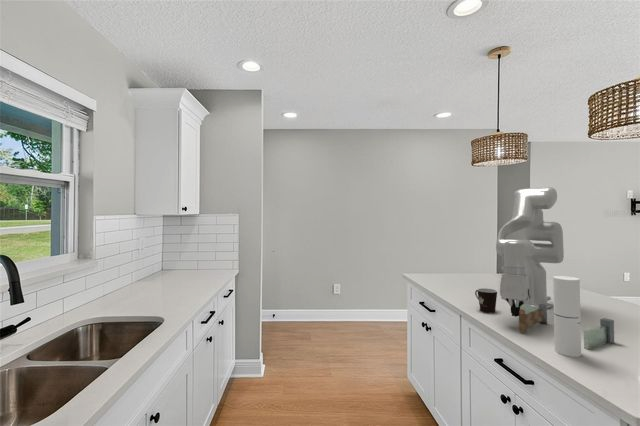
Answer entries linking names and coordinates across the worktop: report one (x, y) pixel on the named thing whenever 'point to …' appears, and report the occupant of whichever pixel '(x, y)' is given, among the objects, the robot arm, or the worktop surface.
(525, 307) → the hinge post
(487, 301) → the coffee mug
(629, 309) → the worktop surface
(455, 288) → the worktop surface
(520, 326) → the gate
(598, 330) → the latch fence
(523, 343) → the worktop surface
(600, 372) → the worktop surface
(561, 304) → the cylindrical container
